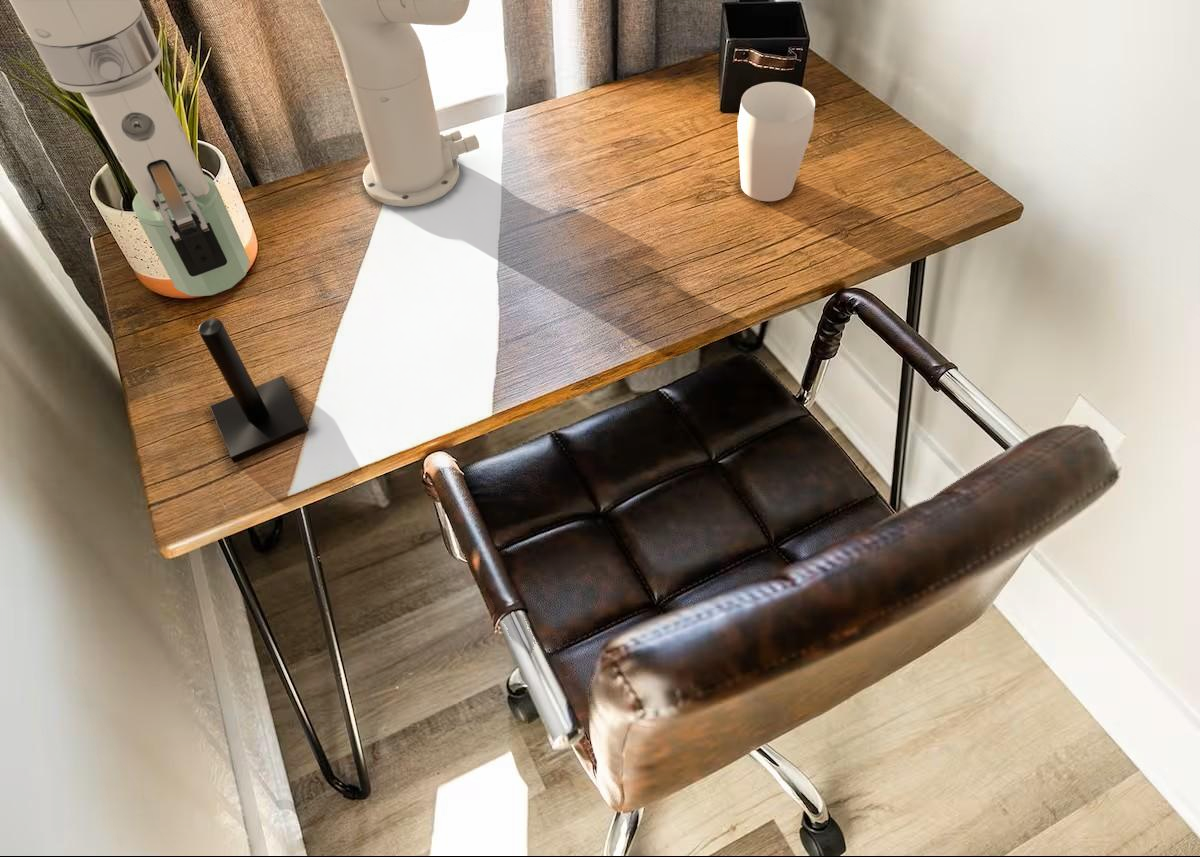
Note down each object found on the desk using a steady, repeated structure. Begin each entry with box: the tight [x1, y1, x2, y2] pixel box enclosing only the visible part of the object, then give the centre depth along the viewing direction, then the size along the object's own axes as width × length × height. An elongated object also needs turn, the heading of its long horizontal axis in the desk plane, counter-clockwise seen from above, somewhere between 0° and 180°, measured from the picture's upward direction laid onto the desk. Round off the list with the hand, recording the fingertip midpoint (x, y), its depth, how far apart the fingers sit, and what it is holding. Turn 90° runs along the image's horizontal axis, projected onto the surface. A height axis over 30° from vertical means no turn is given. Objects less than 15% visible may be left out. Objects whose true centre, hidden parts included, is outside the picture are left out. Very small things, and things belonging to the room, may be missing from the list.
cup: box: [736, 81, 816, 202], centre depth 110 cm, size 9×9×12 cm
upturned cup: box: [132, 174, 251, 297], centre depth 76 cm, size 7×7×8 cm
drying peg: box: [197, 318, 310, 464], centre depth 88 cm, size 8×8×14 cm
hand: (196, 243), depth 77 cm, fingers closed on upturned cup, 6 cm apart
